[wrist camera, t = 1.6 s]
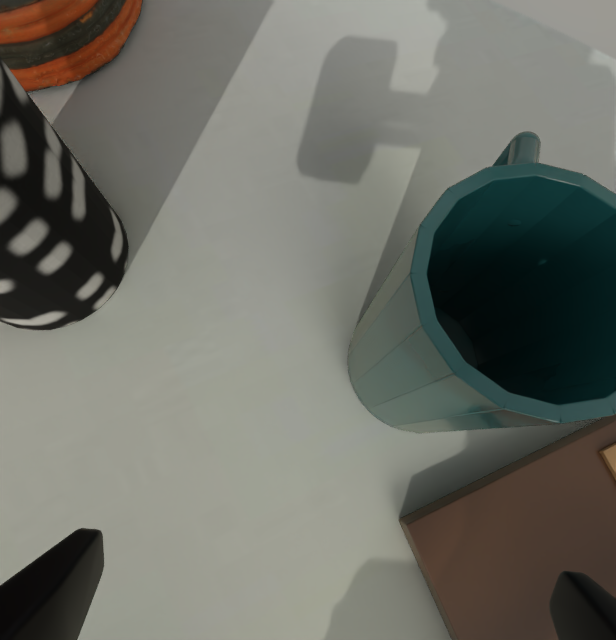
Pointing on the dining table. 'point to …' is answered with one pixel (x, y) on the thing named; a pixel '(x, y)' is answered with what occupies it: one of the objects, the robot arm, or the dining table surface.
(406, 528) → the board
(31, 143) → the spotted tube
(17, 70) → the beer stein
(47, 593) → the robot arm
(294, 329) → the dining table surface
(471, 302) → the teal coffee mug
